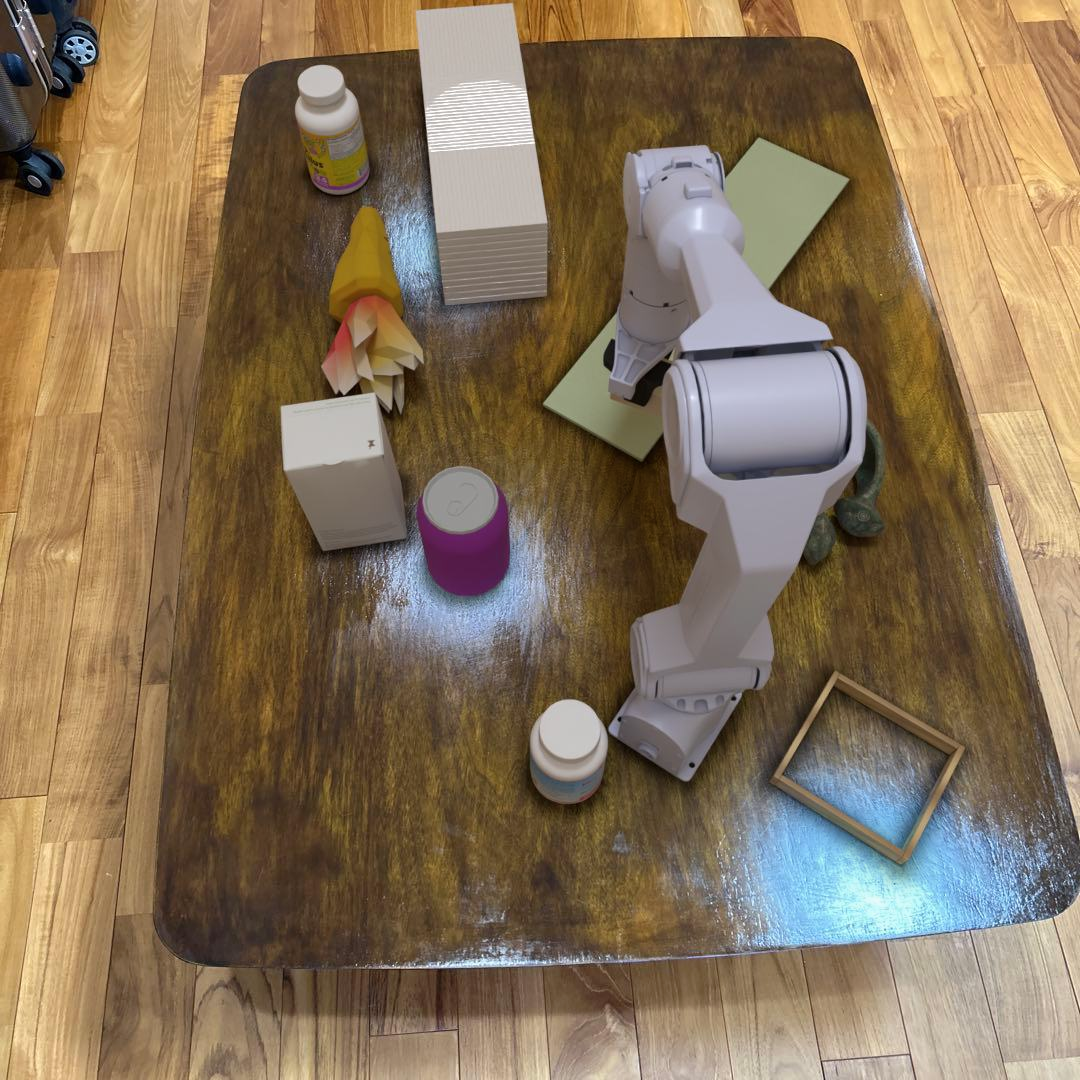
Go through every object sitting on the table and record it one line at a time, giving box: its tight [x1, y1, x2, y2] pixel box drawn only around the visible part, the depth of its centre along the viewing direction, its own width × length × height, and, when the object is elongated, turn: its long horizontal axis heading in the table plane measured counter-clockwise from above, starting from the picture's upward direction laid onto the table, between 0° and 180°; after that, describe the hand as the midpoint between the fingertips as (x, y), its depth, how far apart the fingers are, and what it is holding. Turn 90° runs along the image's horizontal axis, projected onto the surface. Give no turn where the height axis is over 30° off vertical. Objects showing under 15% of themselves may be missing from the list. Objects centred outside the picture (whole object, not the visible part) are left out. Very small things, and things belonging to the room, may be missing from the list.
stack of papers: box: [414, 2, 549, 307], centre depth 115 cm, size 32×11×11 cm, turn 7°
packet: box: [610, 358, 673, 418], centre depth 95 cm, size 4×5×3 cm
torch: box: [320, 205, 424, 415], centre depth 108 cm, size 8×8×25 cm
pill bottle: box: [529, 698, 609, 805], centre depth 85 cm, size 6×6×11 cm
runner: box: [542, 137, 850, 463], centre depth 113 cm, size 44×12×1 cm, turn 146°
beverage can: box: [415, 465, 511, 597], centre depth 93 cm, size 8×8×12 cm
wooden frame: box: [768, 670, 966, 866], centre depth 89 cm, size 11×12×2 cm
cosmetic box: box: [280, 392, 408, 552], centre depth 94 cm, size 8×7×16 cm
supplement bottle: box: [294, 64, 371, 196], centre depth 115 cm, size 7×7×13 cm
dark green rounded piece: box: [802, 417, 887, 566], centre depth 97 cm, size 15×15×10 cm
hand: (644, 381), depth 95 cm, fingers closed on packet, 4 cm apart
